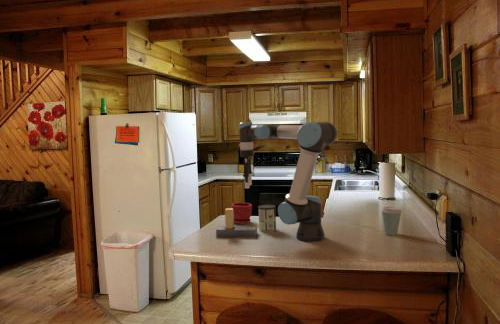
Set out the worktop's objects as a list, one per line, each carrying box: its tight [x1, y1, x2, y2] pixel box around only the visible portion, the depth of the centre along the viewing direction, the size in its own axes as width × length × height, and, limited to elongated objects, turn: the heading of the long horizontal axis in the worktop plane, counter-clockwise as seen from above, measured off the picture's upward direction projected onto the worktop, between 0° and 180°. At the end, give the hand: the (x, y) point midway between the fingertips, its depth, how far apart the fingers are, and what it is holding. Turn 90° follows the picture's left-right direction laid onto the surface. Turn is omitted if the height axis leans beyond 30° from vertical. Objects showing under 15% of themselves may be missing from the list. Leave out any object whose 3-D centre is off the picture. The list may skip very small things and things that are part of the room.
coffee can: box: [257, 204, 277, 233], centre depth 249 cm, size 10×10×14 cm
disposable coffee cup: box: [380, 206, 402, 237], centre depth 232 cm, size 11×11×15 cm
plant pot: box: [230, 202, 253, 225], centre depth 269 cm, size 13×13×12 cm
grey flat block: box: [215, 225, 258, 238], centre depth 238 cm, size 22×8×4 cm, turn 82°
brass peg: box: [224, 207, 235, 229], centre depth 239 cm, size 4×4×15 cm
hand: (248, 186), depth 242 cm, fingers open, 13 cm apart
